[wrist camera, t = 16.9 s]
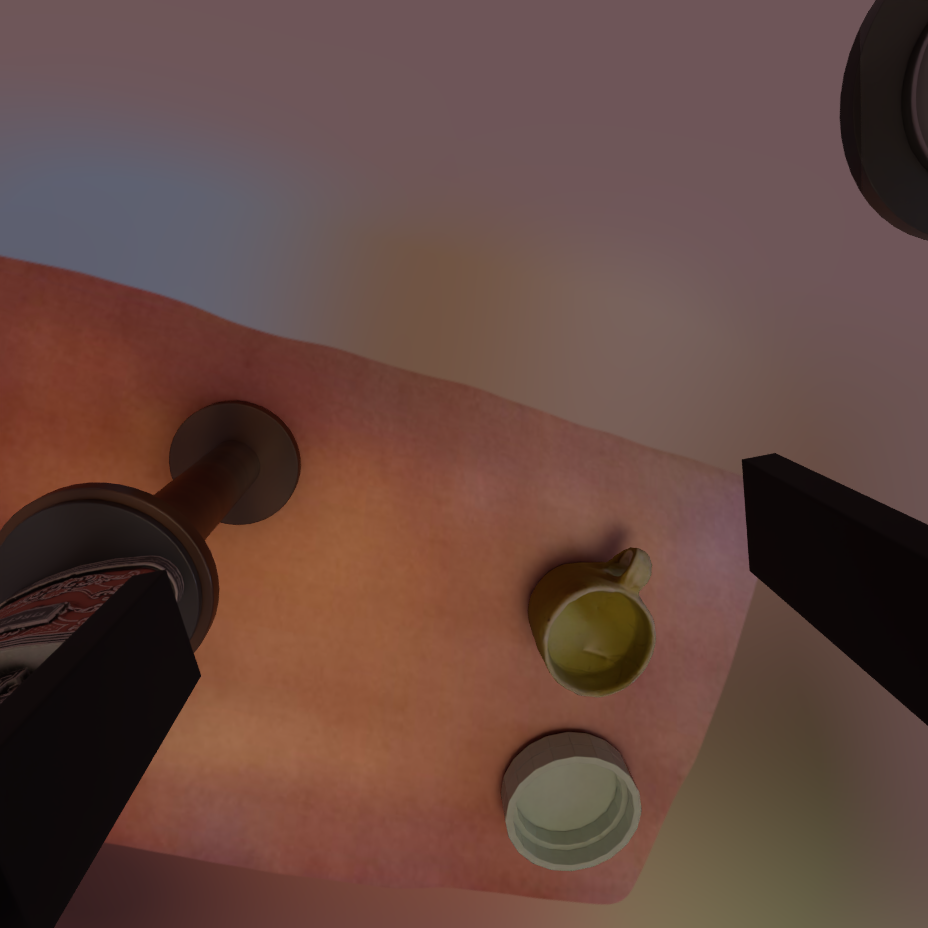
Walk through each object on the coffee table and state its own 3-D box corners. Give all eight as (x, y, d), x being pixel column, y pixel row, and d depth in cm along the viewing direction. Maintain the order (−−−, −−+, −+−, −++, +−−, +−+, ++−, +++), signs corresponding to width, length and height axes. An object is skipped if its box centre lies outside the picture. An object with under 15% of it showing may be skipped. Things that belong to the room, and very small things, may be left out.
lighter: (167, 541, 29) (44, 666, 19) (195, 608, 30) (90, 759, 20) (-9, 589, 29) (-220, 738, 19) (24, 655, 30) (-162, 828, 20)
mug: (587, 697, 59) (607, 731, 49) (501, 620, 60) (503, 637, 50) (675, 593, 59) (712, 606, 49) (588, 518, 60) (608, 516, 50)
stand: (284, 389, 52) (174, 472, 28) (313, 507, 55) (235, 672, 31) (158, 413, 52) (-59, 515, 28) (194, 530, 54) (23, 714, 31)
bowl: (620, 716, 62) (633, 744, 58) (633, 822, 65) (647, 856, 61) (491, 742, 62) (496, 772, 58) (511, 847, 65) (517, 882, 61)
